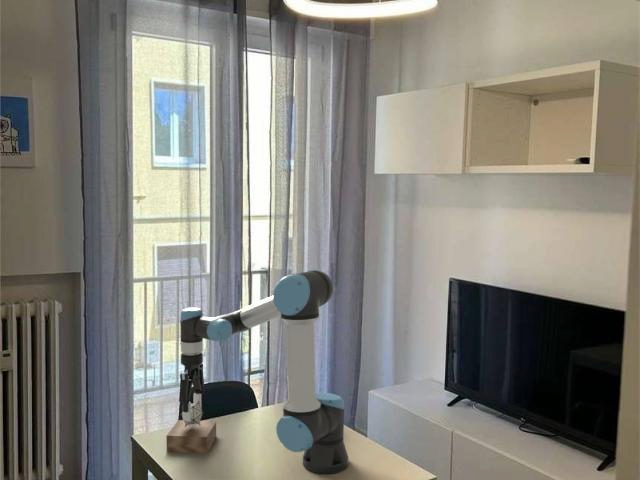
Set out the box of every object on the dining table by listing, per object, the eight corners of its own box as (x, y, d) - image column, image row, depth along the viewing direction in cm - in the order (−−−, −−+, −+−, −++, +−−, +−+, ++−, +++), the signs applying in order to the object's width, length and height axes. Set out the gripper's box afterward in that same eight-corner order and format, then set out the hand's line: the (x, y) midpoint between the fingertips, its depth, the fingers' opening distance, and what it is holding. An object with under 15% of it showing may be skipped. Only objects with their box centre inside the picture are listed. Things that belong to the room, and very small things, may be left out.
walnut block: (216, 437, 223) (216, 421, 222) (207, 454, 209) (207, 436, 208) (178, 436, 223) (178, 420, 223) (166, 452, 210) (166, 435, 209)
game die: (195, 436, 214) (197, 421, 208) (174, 426, 216) (175, 410, 209) (208, 417, 221) (210, 401, 215) (187, 407, 222) (189, 391, 216)
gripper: (194, 344, 224) (195, 404, 226) (167, 359, 204) (168, 425, 206) (213, 345, 222) (214, 406, 224) (188, 361, 202) (189, 428, 204)
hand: (192, 415), depth 215 cm, fingers closed on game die, 8 cm apart
